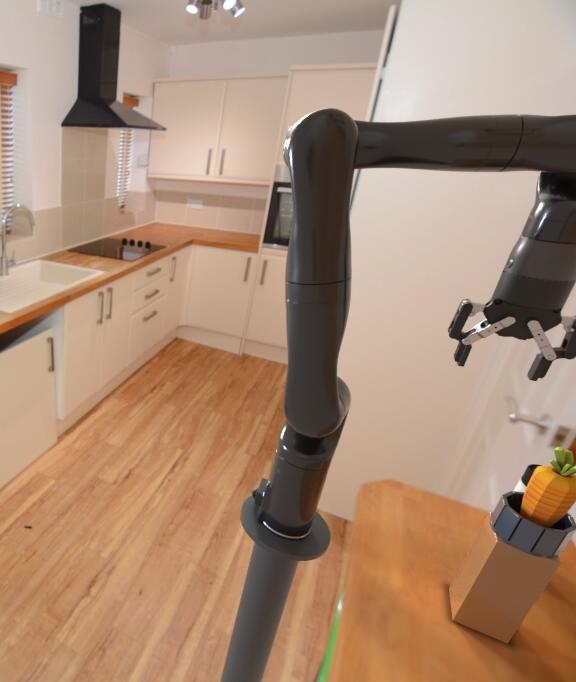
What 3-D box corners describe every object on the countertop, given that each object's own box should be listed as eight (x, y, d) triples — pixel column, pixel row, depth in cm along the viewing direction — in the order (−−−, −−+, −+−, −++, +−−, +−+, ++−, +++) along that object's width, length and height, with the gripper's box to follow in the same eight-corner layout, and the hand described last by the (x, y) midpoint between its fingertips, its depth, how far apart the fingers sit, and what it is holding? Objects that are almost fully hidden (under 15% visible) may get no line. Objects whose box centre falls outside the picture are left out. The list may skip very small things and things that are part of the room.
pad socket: (449, 621, 74) (508, 517, 64) (445, 584, 80) (498, 484, 70) (511, 648, 70) (584, 541, 60) (502, 607, 76) (567, 504, 66)
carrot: (557, 540, 66) (610, 458, 59) (537, 551, 64) (590, 468, 58) (515, 515, 70) (561, 436, 64) (496, 525, 68) (540, 445, 62)
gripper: (603, 271, 63) (550, 373, 70) (472, 257, 70) (435, 351, 77) (624, 286, 58) (564, 395, 65) (479, 269, 65) (439, 369, 72)
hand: (494, 371), depth 71 cm, fingers open, 8 cm apart
